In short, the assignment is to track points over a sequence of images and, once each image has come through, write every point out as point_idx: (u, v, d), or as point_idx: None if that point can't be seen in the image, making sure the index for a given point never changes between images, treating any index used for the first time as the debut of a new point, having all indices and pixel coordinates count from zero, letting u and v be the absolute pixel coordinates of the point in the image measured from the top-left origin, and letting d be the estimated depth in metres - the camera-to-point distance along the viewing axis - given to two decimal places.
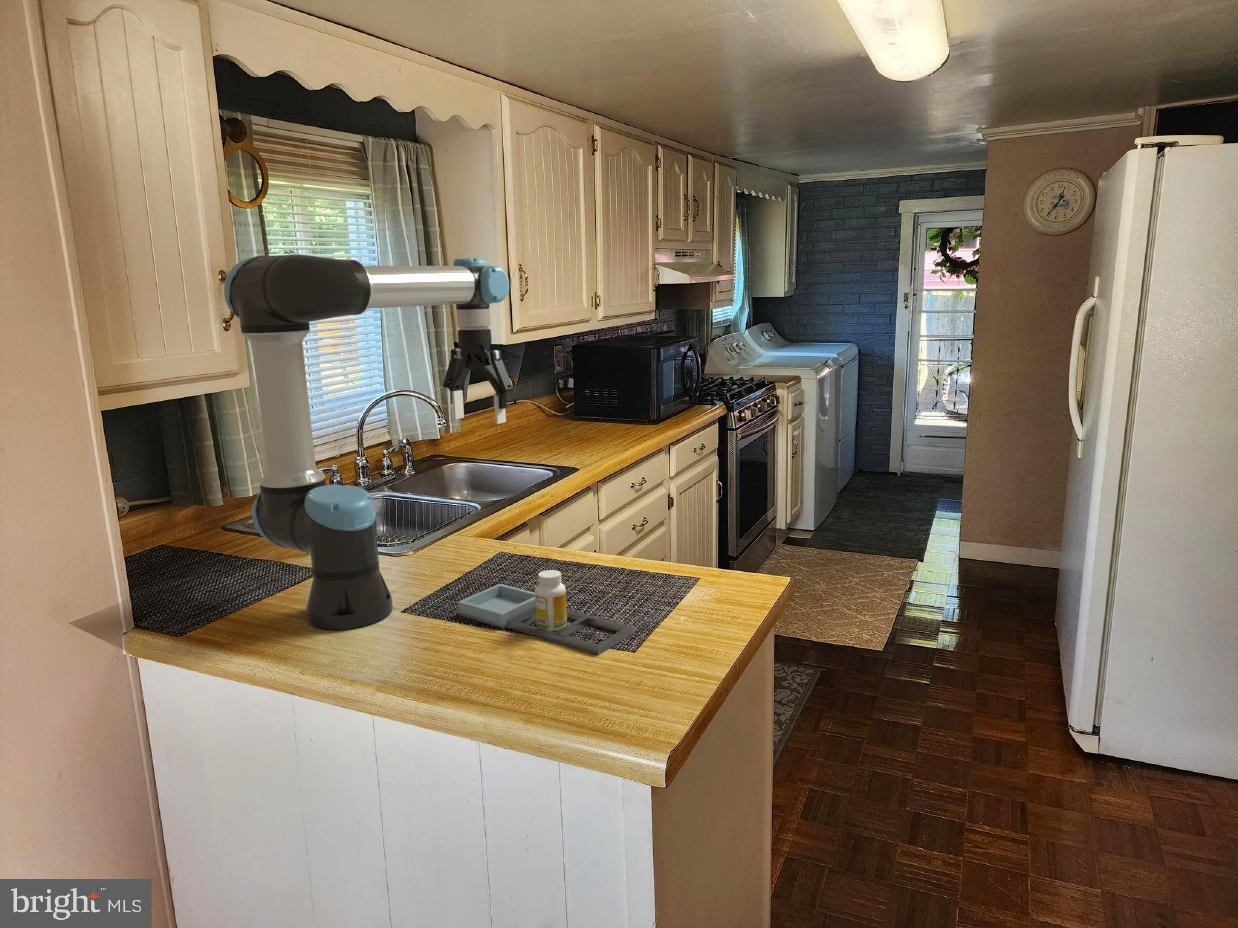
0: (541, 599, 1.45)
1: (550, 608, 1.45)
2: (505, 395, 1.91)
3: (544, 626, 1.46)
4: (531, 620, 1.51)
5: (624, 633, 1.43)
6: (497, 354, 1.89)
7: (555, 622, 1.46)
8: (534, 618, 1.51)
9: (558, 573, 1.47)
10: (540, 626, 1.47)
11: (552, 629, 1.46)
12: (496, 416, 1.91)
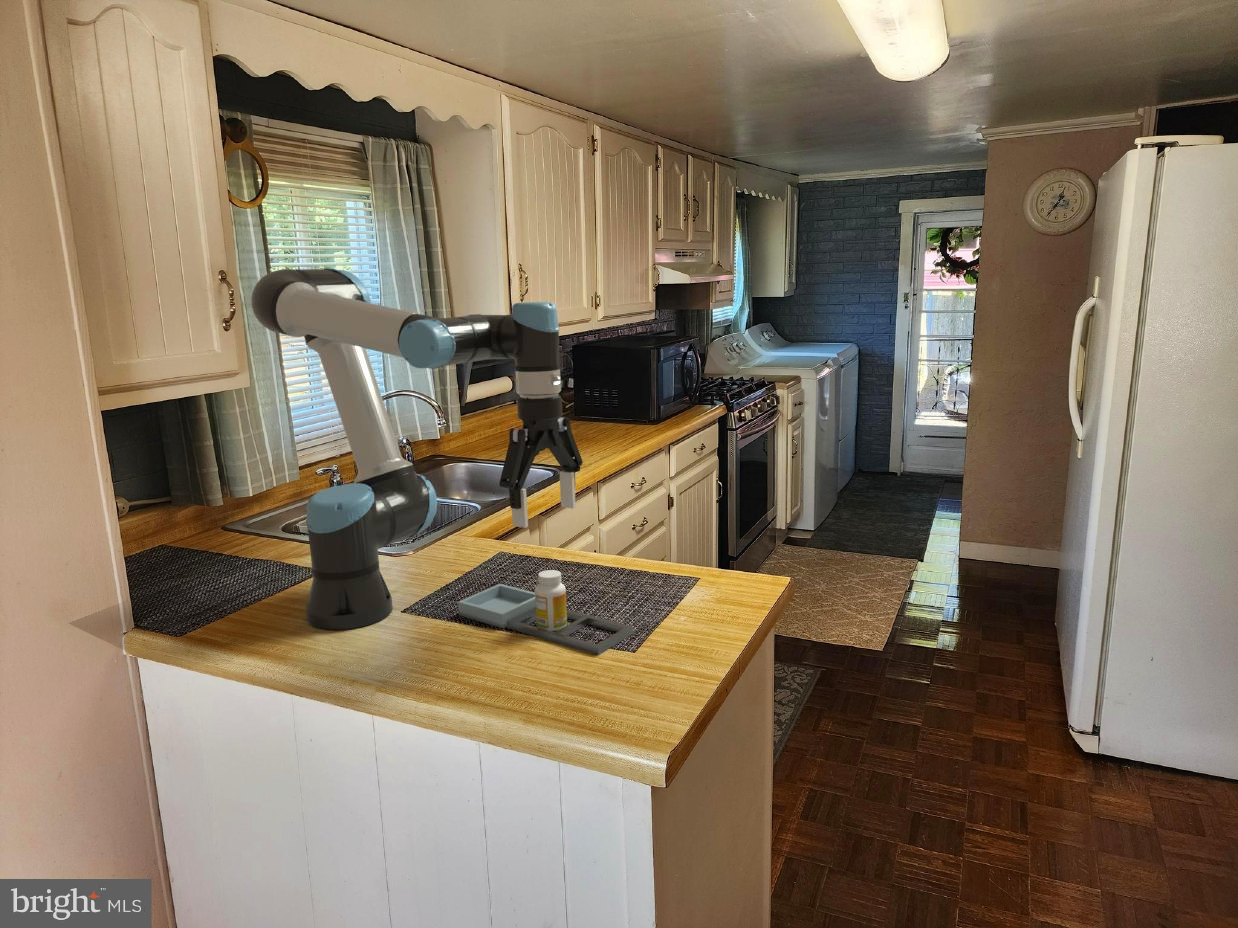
0: (541, 599, 1.45)
1: (550, 608, 1.45)
2: (513, 491, 1.39)
3: (544, 626, 1.46)
4: (531, 620, 1.51)
5: (624, 633, 1.43)
6: (515, 434, 1.38)
7: (555, 622, 1.46)
8: (534, 618, 1.51)
9: (558, 573, 1.47)
10: (540, 626, 1.47)
11: (552, 629, 1.46)
12: None
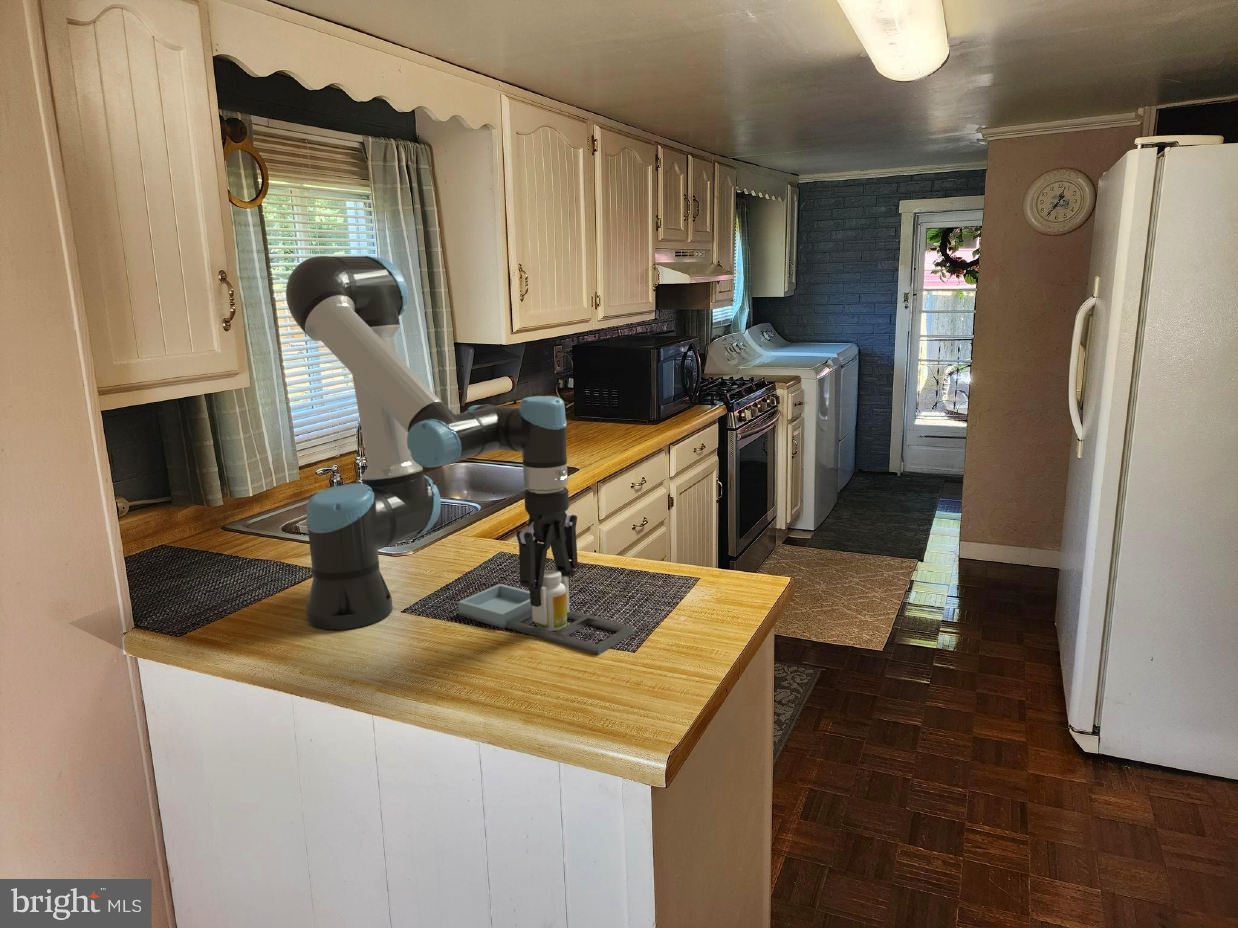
0: None
1: (550, 608, 1.45)
2: (534, 590, 1.43)
3: (544, 626, 1.46)
4: (531, 620, 1.51)
5: (624, 633, 1.43)
6: (522, 538, 1.40)
7: (555, 622, 1.46)
8: None
9: (558, 573, 1.47)
10: (540, 626, 1.47)
11: (552, 628, 1.46)
12: None
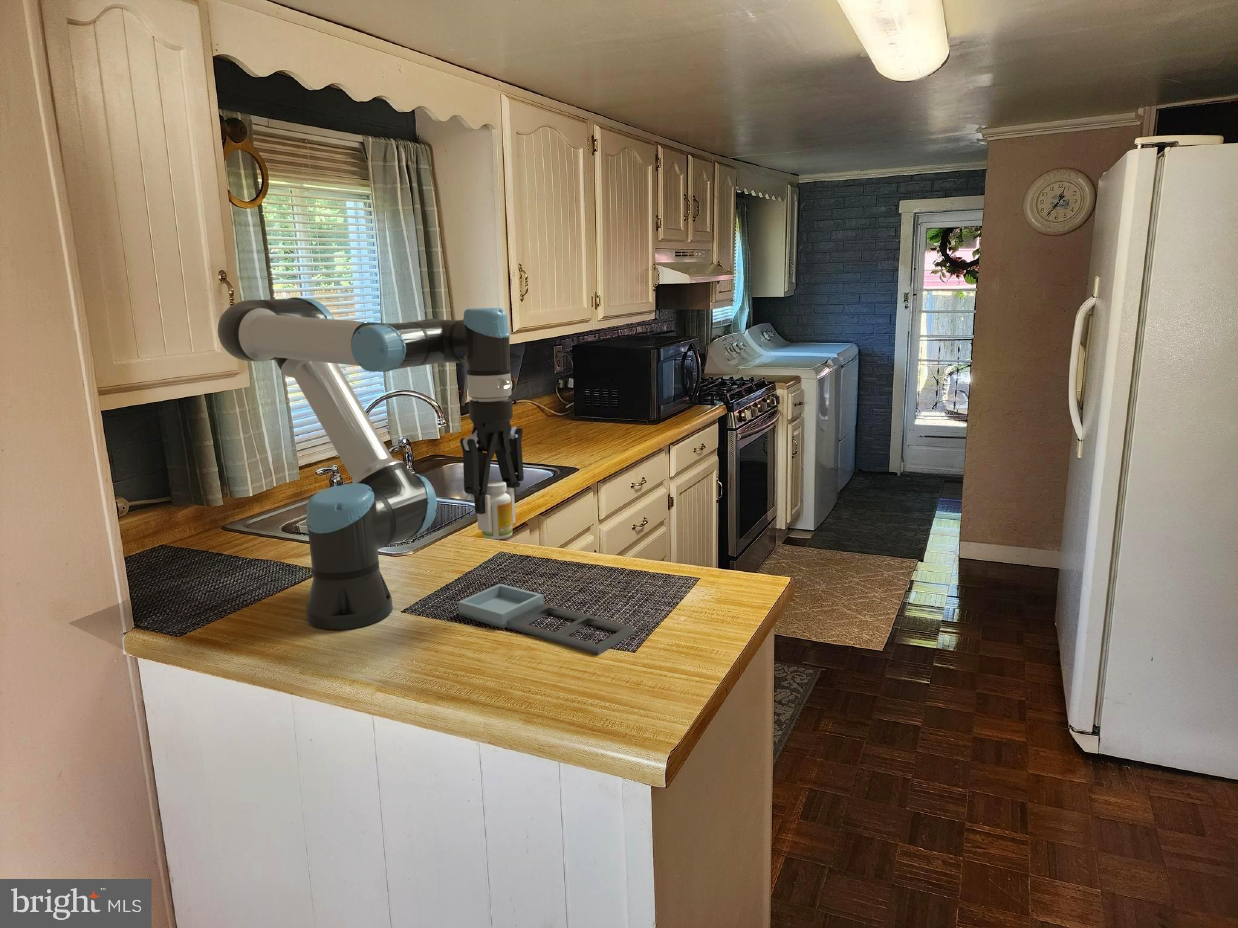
0: None
1: (494, 516, 1.49)
2: (478, 497, 1.47)
3: (489, 534, 1.50)
4: (531, 620, 1.51)
5: (624, 633, 1.43)
6: (465, 445, 1.44)
7: (500, 530, 1.50)
8: (534, 618, 1.51)
9: (503, 483, 1.51)
10: (486, 535, 1.51)
11: (497, 537, 1.50)
12: None
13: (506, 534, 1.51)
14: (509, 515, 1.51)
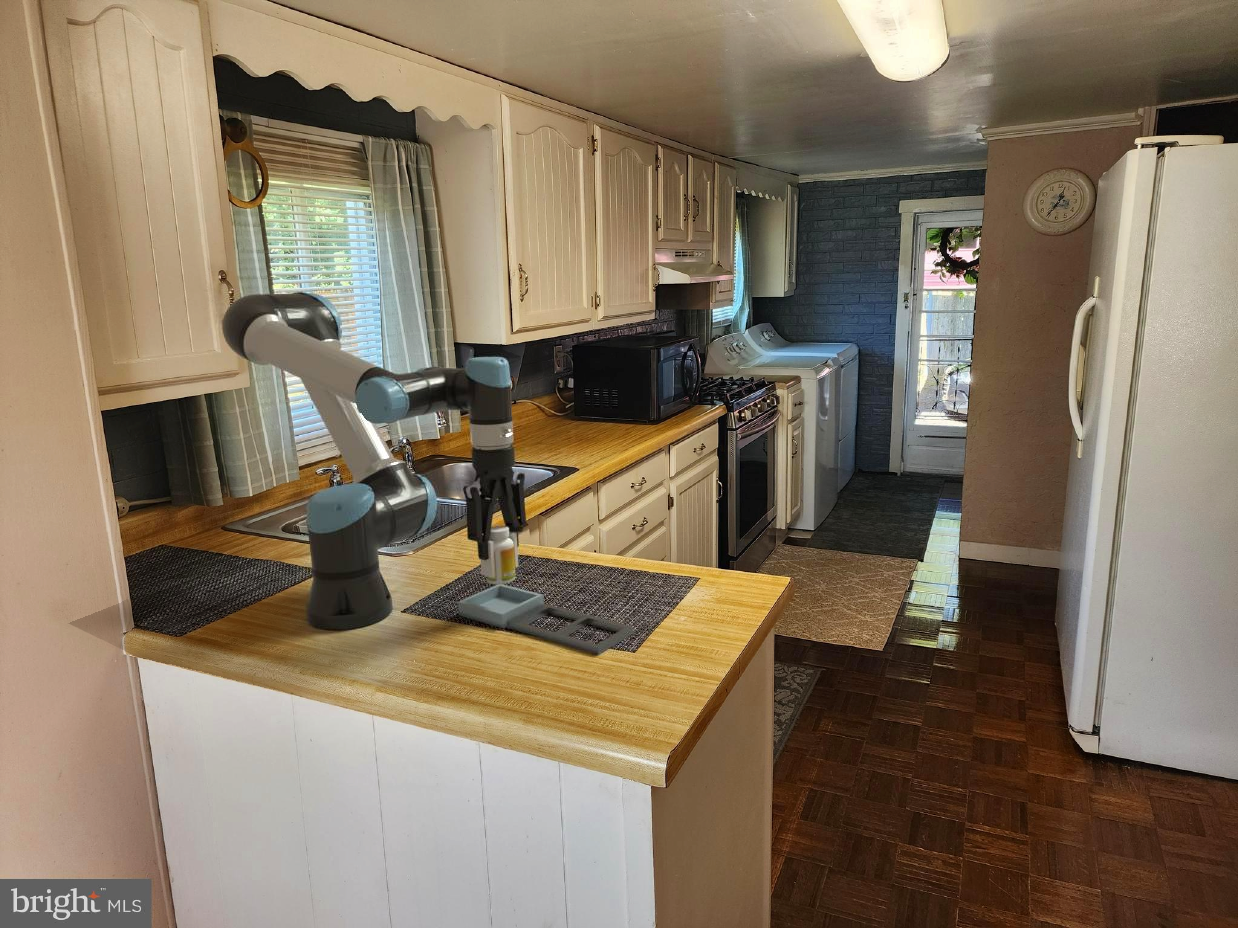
0: None
1: (498, 561, 1.51)
2: (481, 544, 1.49)
3: (492, 579, 1.52)
4: (531, 620, 1.51)
5: (624, 633, 1.43)
6: (468, 493, 1.45)
7: (503, 575, 1.52)
8: (534, 618, 1.51)
9: (506, 528, 1.52)
10: (489, 579, 1.52)
11: (500, 582, 1.52)
12: None
13: (509, 579, 1.52)
14: (512, 560, 1.53)
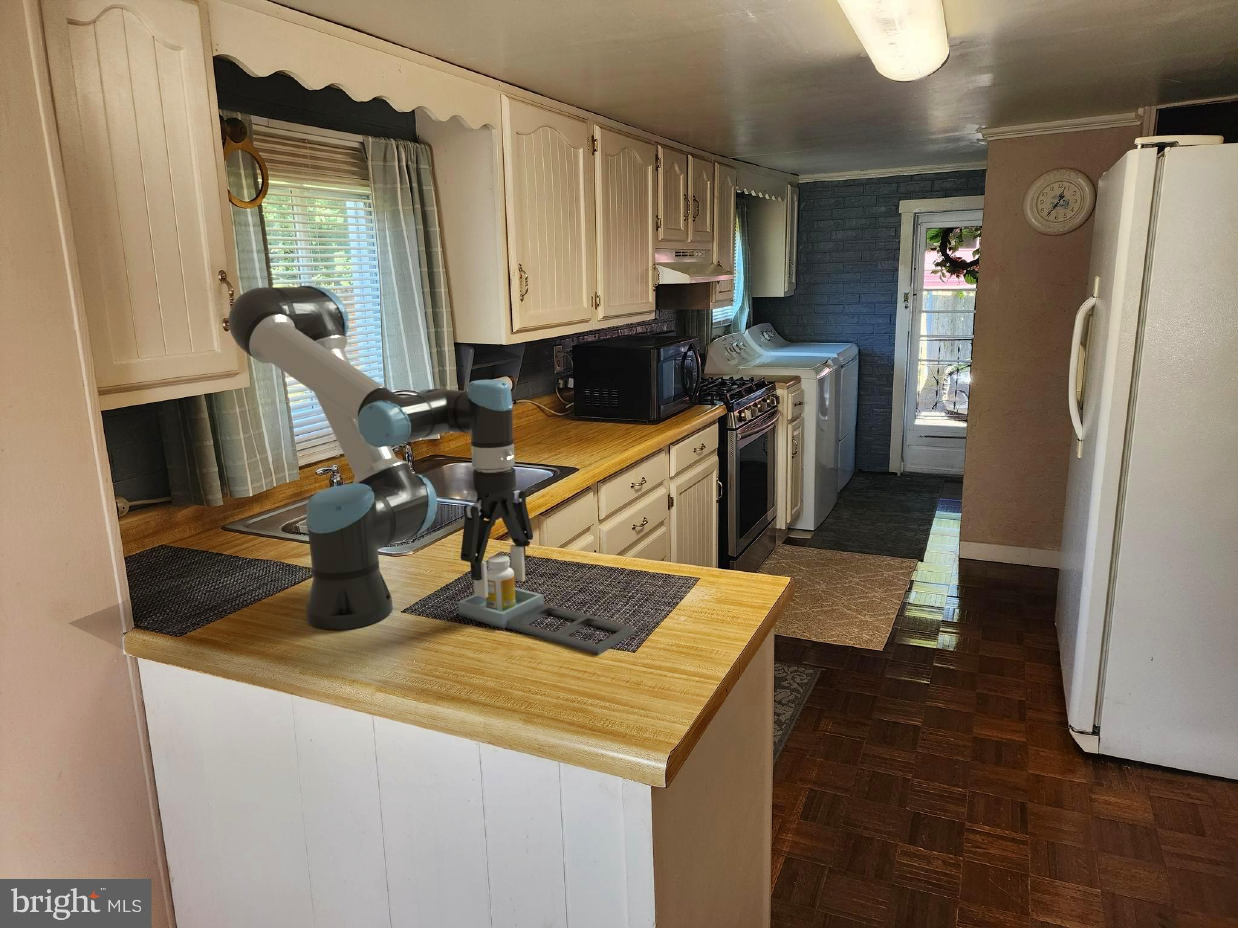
0: (490, 582, 1.52)
1: (498, 591, 1.52)
2: (474, 564, 1.48)
3: (493, 608, 1.53)
4: (531, 620, 1.51)
5: (624, 633, 1.43)
6: (468, 511, 1.46)
7: (504, 605, 1.53)
8: (534, 618, 1.51)
9: (506, 558, 1.54)
10: None
11: (501, 611, 1.53)
12: None
13: (509, 608, 1.54)
14: (512, 589, 1.54)
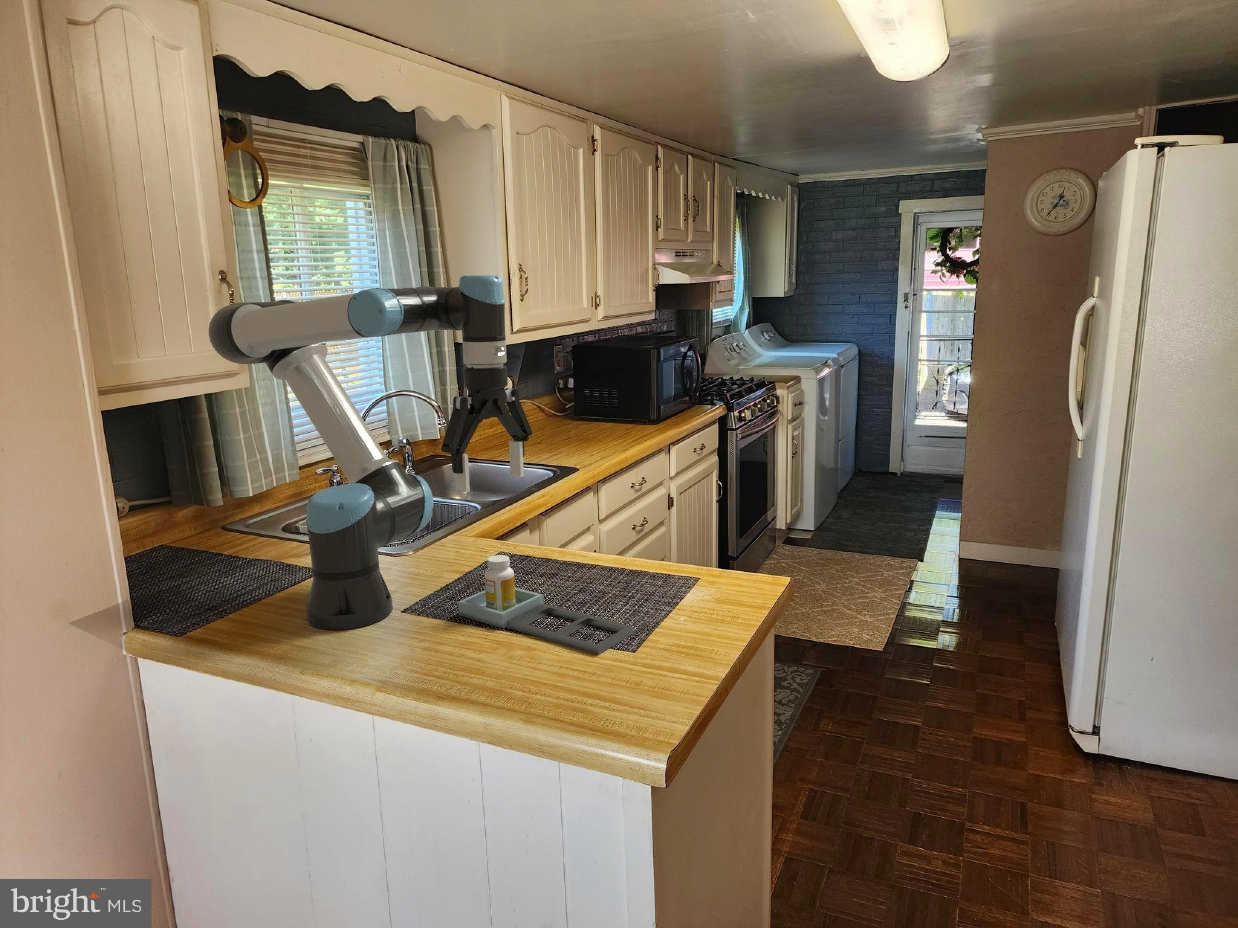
0: (489, 582, 1.52)
1: (498, 591, 1.52)
2: (455, 456, 1.45)
3: (493, 608, 1.53)
4: (531, 620, 1.51)
5: (624, 633, 1.43)
6: (457, 401, 1.44)
7: (504, 605, 1.53)
8: (534, 618, 1.51)
9: (506, 558, 1.54)
10: None
11: (501, 611, 1.53)
12: None
13: (509, 608, 1.54)
14: (512, 589, 1.54)
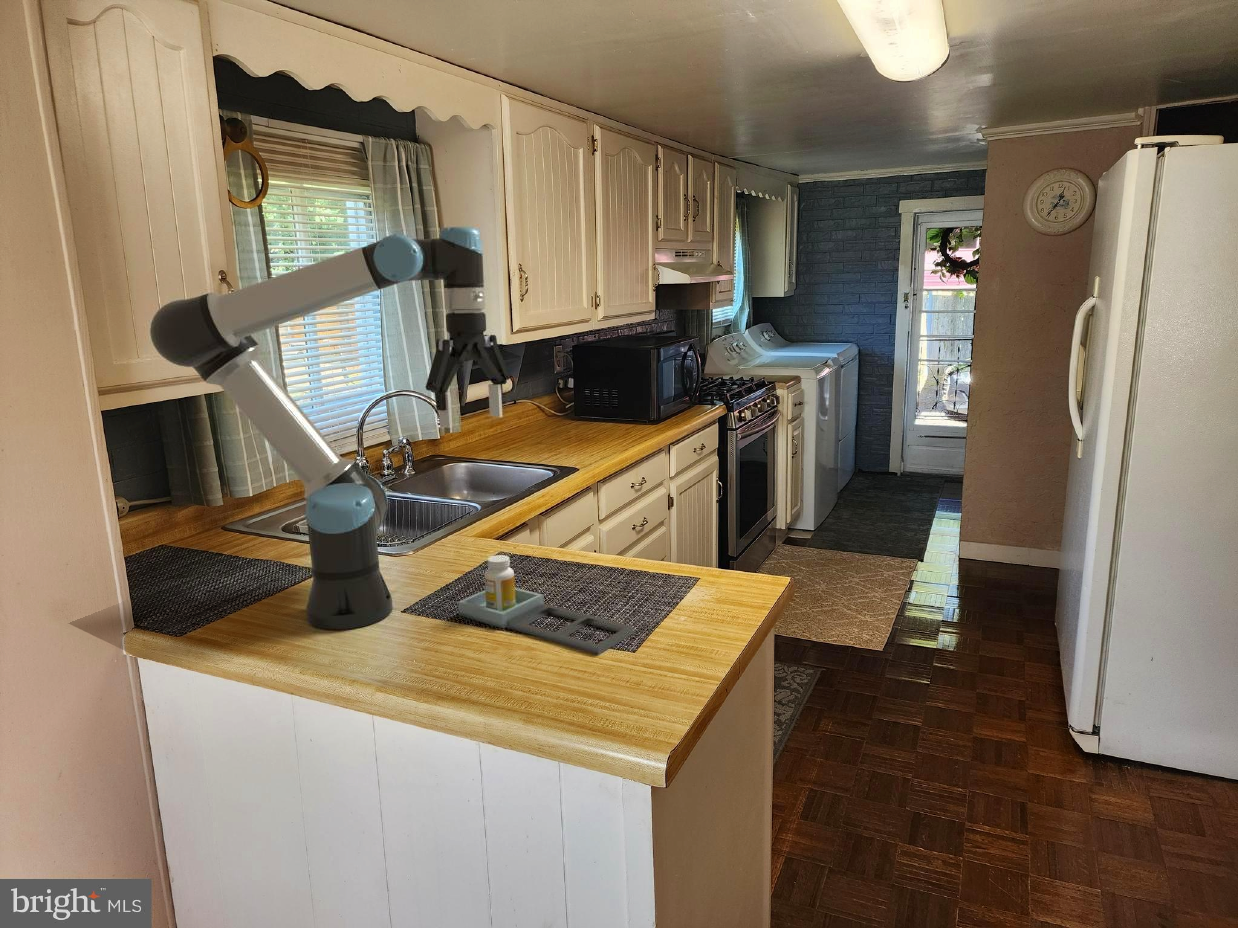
0: (490, 582, 1.52)
1: (498, 591, 1.52)
2: (439, 394, 1.57)
3: (493, 608, 1.53)
4: (531, 620, 1.51)
5: (624, 633, 1.43)
6: (440, 343, 1.56)
7: (504, 605, 1.53)
8: (534, 618, 1.51)
9: (506, 558, 1.54)
10: None
11: (501, 611, 1.53)
12: None
13: (509, 608, 1.54)
14: (512, 589, 1.54)
